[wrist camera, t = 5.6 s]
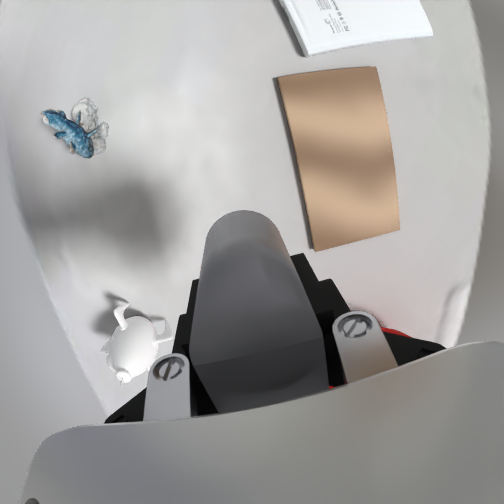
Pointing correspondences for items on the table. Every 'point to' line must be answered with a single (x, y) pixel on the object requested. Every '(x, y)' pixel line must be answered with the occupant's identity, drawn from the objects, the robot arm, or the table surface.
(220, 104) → the table surface
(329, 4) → the external hard drive
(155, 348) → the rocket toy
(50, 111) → the sculpture
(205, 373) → the connector
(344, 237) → the wood pad
